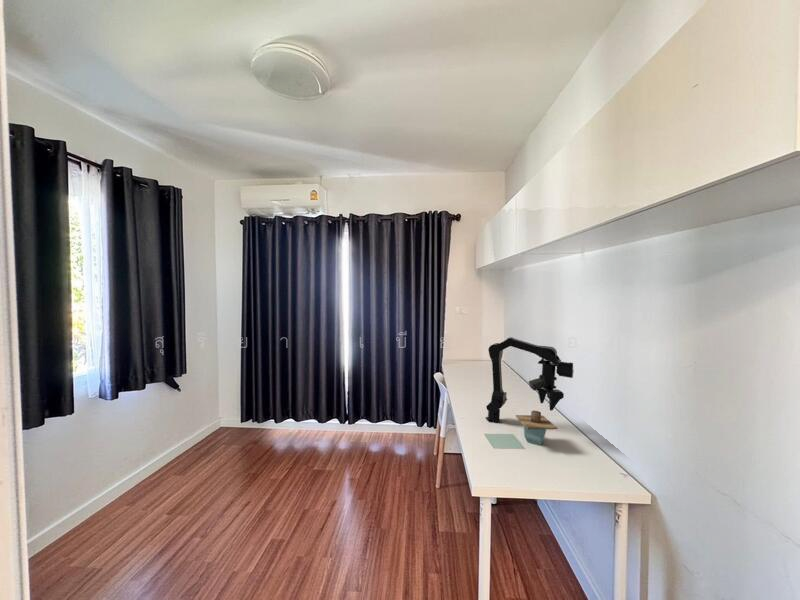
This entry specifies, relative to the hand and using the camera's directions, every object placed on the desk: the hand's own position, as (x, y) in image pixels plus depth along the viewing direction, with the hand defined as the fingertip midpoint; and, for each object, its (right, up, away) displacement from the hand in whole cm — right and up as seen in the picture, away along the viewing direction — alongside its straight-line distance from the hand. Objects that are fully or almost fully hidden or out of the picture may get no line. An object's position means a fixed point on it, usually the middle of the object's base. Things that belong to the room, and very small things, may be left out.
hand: (546, 406), depth 161 cm
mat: (-23, -13, -10) cm, 28 cm away
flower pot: (-9, -13, -9) cm, 18 cm away
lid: (-9, -4, -9) cm, 13 cm away
